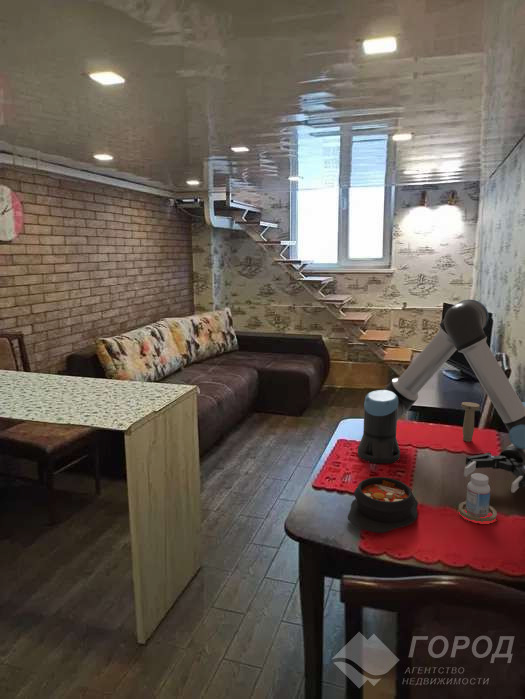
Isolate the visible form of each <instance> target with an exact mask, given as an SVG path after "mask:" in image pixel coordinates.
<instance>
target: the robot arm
mask: <svg viewBox="0 0 525 699" xmlns="http://www.w3.org/2000/svg"><path fill="white" fill-rule="evenodd" d="M488 321H489V311H488V308H486V305H485V304H483V303H482V302H480V301H478V300H476V299H471V298H470V299H463V300H460V301H459V302H457V303H455V304H454V305H452V306H451V307H449V308H448V309H447V311H446V312H445V314H444V318H443V319H442V321H441V322H440V323H439V325H438V326H439V331H438V332H437V333H436V334H435V335H434V337H433V338H432V339H431V340H430V342H429V343H428V344H427V345H426V346H425V347H424V348H423V350H422V351H421V352H420V353H419V354H418V355H417V356H416V358H415V359H414V360H413V361H412V362H411V364H410V365H408V367H407V368H406V370H404V372H403V373H402V374H401V375H400V376H399V377H394V378H391V379H392V380H391V381H389V383H387V385H386V386H385V387H384V388H383V389H376V390H373V391H370V392H368V393H367V394H366V395H365V397H364V403H363V407H364V409H363V434H362V436H361V439H360V442H359V444H358V448H357V455H359V456H358V457H359V458H360V457H361V458H362V459H361V458H360V459H361V460H363V459H364V460H363V461H365V462H367V461H369V462H368V463H371V462H373V463H372V464H376V463H380V464H379V465H382V464H381V463H390V464H393V463H392V462H394V463H396V462H395V461H397V460H398V459H399V458H400V459H401V449H400V446H399V442H398V439H397V429H398V428H397V425H398V420H400V419H401V418H402V417H403V416H404V415H405V414H406V413H407V412H408V411H410V409H411V407H412V406H413V405H414V404H415V403H416V402H417V400H419V394H418V393H419V392H420V391H421V390H422V389H423V388H424V386H426V385H427V383H428V382H429V381H430V380H431V379H432V378H433V377H434V375H435V374H436V373H437V372H438V371H439V370H440V369H441V367H443V365H444V364H445V363H446V362H447V361H448V360H449V359H450V358H451V357H452V356H453V355H454V353H455V352H456V351H457V352H458V353H462V354H463V355H464V357H465V359H466V361H467V362H468V364H469V366H470V368H471V369H472V371H473V373H474V374H475V376H476V378H477V380H478V381H479V384H480V385H481V386H482V388H483V390H484V391H485V393H486V395H487V397H488V398H489V400H490V401H491V403H492V405H493V407H494V408H495V410H496V412H497V413H498V415H499V417H500V418H501V420H502V422H503V424H504V425H505V428H506V429H507V431H508V438H509V441H510V445H508V446H507V447H506V448H504V449H503V450H502V451H501V452H500V454H499V455H496V456H493V455H492V453H491V452H486V453H483V454H482V453H481V454H478V455H472V456H471V455H470V456H466V457H465V467H464V469H463V470H464V472H463V477H465V478H466V477H468V476H469V475H472V474H473V472H475V471H476V469H483V468H492V469H493V470H494V469H495V470H496V469H498V470H499V469H500V470H503V471H506V472H507V471H508V472H510V473H511V474H512V475H513V476H515V477H516V479H515V480H514V481H513V482H511V488H510V492H511V493H514V494H515V493H516V491H517V490H518V489H519V488H522V489H523V488H524V487H525V401H521V399H520V397H519V396H518V394H517V392H516V391H515V389H514V387H513V385H512V384H511V382H510V380H509V379H508V377H507V375H506V374H505V372H504V370H503V369H502V367H501V365H500V364H499V361H498V360H497V358H496V357H495V355H494V354H493V351H492V350H491V348H490V347H489V345H488V343H487V339H488V336H487V335H486V333H485V331H484V328H486V326H487V324H488ZM400 459H399V460H400ZM399 460H398V461H399ZM398 461H397V462H398Z"/></svg>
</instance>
